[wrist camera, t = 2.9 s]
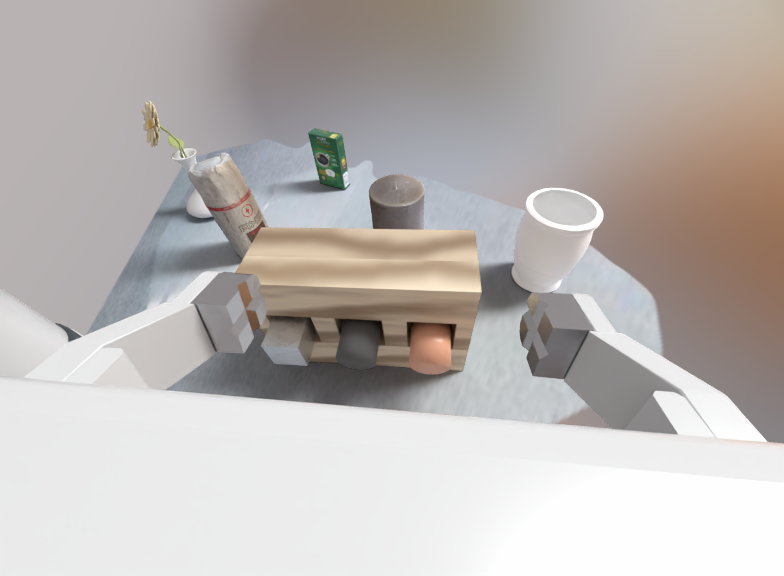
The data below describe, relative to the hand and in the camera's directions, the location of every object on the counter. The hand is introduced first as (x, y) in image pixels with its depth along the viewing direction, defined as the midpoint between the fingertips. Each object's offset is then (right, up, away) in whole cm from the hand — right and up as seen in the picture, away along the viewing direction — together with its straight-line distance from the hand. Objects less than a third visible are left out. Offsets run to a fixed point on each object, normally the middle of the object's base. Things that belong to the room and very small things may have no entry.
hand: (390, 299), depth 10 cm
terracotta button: (+5, -9, +32) cm, 33 cm away
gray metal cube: (-13, -8, +34) cm, 37 cm away
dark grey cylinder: (-4, -8, +33) cm, 34 cm away
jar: (+26, +2, +48) cm, 55 cm away
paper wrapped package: (-29, +8, +58) cm, 65 cm away
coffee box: (-14, +27, +72) cm, 79 cm away
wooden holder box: (-3, -8, +42) cm, 43 cm away
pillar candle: (+2, +8, +55) cm, 56 cm away
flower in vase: (-43, +19, +68) cm, 83 cm away
